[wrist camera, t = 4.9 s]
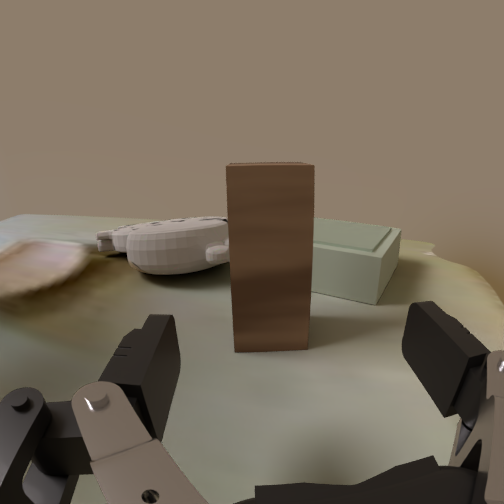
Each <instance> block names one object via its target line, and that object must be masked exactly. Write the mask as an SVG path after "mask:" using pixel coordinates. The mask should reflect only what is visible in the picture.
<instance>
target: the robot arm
mask: <svg viewBox="0 0 504 504" xmlns="http://www.w3.org/2000/svg"><path fill="white" fill-rule="evenodd" d="M402 353H403V356H404V358H405V360H406V361H407V362H408V364H409V365H410V367H411V368H412V370H413V371H414V373H415V374H416V376H417V377H418V379H419V380H420V382H421V383H422V385H423V386H424V388H425V389H426V391H427V392H428V394H429V395H430V397H431V398H432V400H433V401H434V403H435V404H436V406H437V408H438V409H439V411H440V412H441V414H442V415H443V417H444V418H445V417H449V416H452V415H455V414H459V416H460V417H461V418H460V420H459V422H458V425H457V430H456V435H455V439H454V444H453V448H452V453H451V457H450V461H449V464H448V466H438V464H437V462H436V460H435V458H434V456H429V457H426V458H423V459H420V460H416V461H413V462H409V463H406V464H402V465H398V466H395V467H393V468H391V469H389V470H387V471H385V472H383V473H381V474H379V475H377V476H375V477H372V478H370V479H368V480H366V481H364V482H361V483H359V484H356V485H329V484H314V483H294V484H281V485H262V486H255V498H251V499H247V500H243V501H240V502H237V503H234V504H504V351H502V350H498V351H493V352H490V351H489V350H488V349H487V348H486V347H485V346H484V345H483V344H482V343H481V342H480V341H479V340H478V339H477V338H476V337H475V336H474V335H473V334H470V332H469V331H468V330H467V329H466V328H464V327H463V325H462V324H461V323H460V322H459V321H458V320H457V319H455V318H454V317H452V316H450V315H448V314H446V313H445V312H444V311H443V310H442V309H441V308H439V307H438V306H437V305H436V304H435V303H434V302H433V301H425V302H416V303H412V304H411V305H410V307H409V311H408V316H407V321H406V326H405V331H404V335H403V339H402ZM113 355H114V356H112V358H111V359H110V361H109V363H108V364H107V366H106V368H105V370H104V371H103V373H102V375H101V377H100V378H99V380H98V382H93V383H90V384H87V385H85V386H83V387H81V388H80V389H79V390H78V391H77V392H76V393H75V394H74V396H73V398H72V401H66V402H50V403H46V402H45V400H44V398H43V396H42V394H41V393H40V392H39V391H38V390H36V389H34V388H28V387H27V388H19V389H16V390H14V391H12V392H10V393H9V394H7V395H6V396H5V397H4V398H3V400H2V401H1V402H0V504H70V503H71V499H72V496H73V493H74V490H75V487H76V484H77V481H78V478H79V475H83V474H94V475H95V477H96V479H97V482H98V484H99V486H100V488H101V490H102V492H103V494H104V496H105V499H106V501H107V503H108V504H208V503H207V502H206V500H205V499H204V498H203V497H202V496H201V495H200V493H199V492H198V491H197V490H196V489H195V487H194V486H193V485H192V484H191V482H190V481H189V480H188V479H187V477H186V476H185V475H184V474H183V472H182V471H181V470H180V468H179V467H178V466H177V464H176V463H175V462H174V460H173V459H172V458H171V456H170V455H169V454H168V452H167V451H166V449H165V448H164V447H163V445H162V444H161V442H162V438H163V434H164V430H165V426H166V422H167V418H168V415H169V411H170V407H171V403H172V399H173V396H174V392H175V388H176V384H177V381H178V377H179V373H180V365H181V361H180V351H179V345H178V339H177V333H176V326H175V320H174V317H173V315H153V314H151V315H149V316H148V318H147V320H146V322H145V323H144V325H143V327H142V329H134V330H132V331H131V332H130V333H128V334H127V335H126V336H124V337H123V339H122V341H121V342H120V344H119V346H118V348H117V349H116V351H115V352H114V354H113ZM30 460H31V461H32V464H31V466H30V468H29V470H28V472H27V475H26V477H25V479H24V482H23V484H22V479H23V476H24V473H25V471H26V469H27V467H28V465H29V462H30Z"/></svg>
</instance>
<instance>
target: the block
mask: <svg viewBox="0 0 504 504" xmlns="http://www.w3.org/2000/svg"><path fill="white" fill-rule="evenodd" d="M226 183H227V210H228V235H229V257H230V277H231V296H232V315H233V332H234V348H235V352H268V351H290V350H306V349H307V348H308V335H309V320H310V304H311V286H312V264H313V235H314V165H311V164H306V163H299V162H295V163H294V162H279V163H278V162H276V163H275V162H270V163H230V164H229V165H227V166H226Z"/></svg>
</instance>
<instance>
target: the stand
mask: <svg viewBox="0 0 504 504" xmlns="http://www.w3.org/2000/svg"><path fill="white" fill-rule="evenodd" d="M400 239H401V229H397V228H391V227H385V226H378V225H369V224H363V223H355V222H347V221H339V220H331V219H322V218H315V217H314V235H313V264H312V286H311V291H312V292H317V293H321V294H326V295H331V296H335V297H340V298H344V299H349V300H354V301H358V302H363V303H368V304H373V305H376V303H377V302H378V300H379V298H380V296H381V295H382V293H383V291H384V289H385V287H386V285H387V284H388V282H389V280H390V278H391V276H392V274H393V272H394V270H395V269H396V267H397V265H398V257H399V248H400Z"/></svg>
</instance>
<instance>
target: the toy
mask: <svg viewBox="0 0 504 504" xmlns="http://www.w3.org/2000/svg"><path fill="white" fill-rule="evenodd" d="M96 238H97V240H98V249H99V251H100V252H104V251H113V250H116V251H119V252H124V253H127V258H128V262H129V264H130V266H131V267H132V268H134V269H136V270H138V271H139V272H144V273H149V274H163V275H169V274H183V273H190V272H196V271H200V270H204V269H207V268H211V267H214V266H217V265H219V264H222V263H226V262H230V257H229V235H228V218H226V217H194V218H182V219H173V220H164V221H155V222H148V223H142V224H135V225H126V226H119V227H118V229H115V230H108V231H101V232H97V233H96Z"/></svg>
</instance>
